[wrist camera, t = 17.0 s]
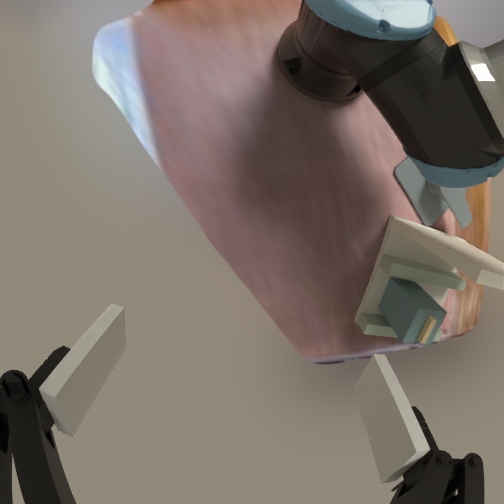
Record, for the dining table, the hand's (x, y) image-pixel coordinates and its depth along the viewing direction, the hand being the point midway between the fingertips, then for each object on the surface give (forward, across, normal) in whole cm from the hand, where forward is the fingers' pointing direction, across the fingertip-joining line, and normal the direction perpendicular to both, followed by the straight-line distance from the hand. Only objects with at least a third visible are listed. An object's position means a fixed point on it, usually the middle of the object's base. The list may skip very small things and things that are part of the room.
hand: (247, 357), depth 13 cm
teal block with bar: (+30, +27, -7) cm, 41 cm away
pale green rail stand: (+32, +30, -4) cm, 44 cm away
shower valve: (+32, +29, +14) cm, 45 cm away
